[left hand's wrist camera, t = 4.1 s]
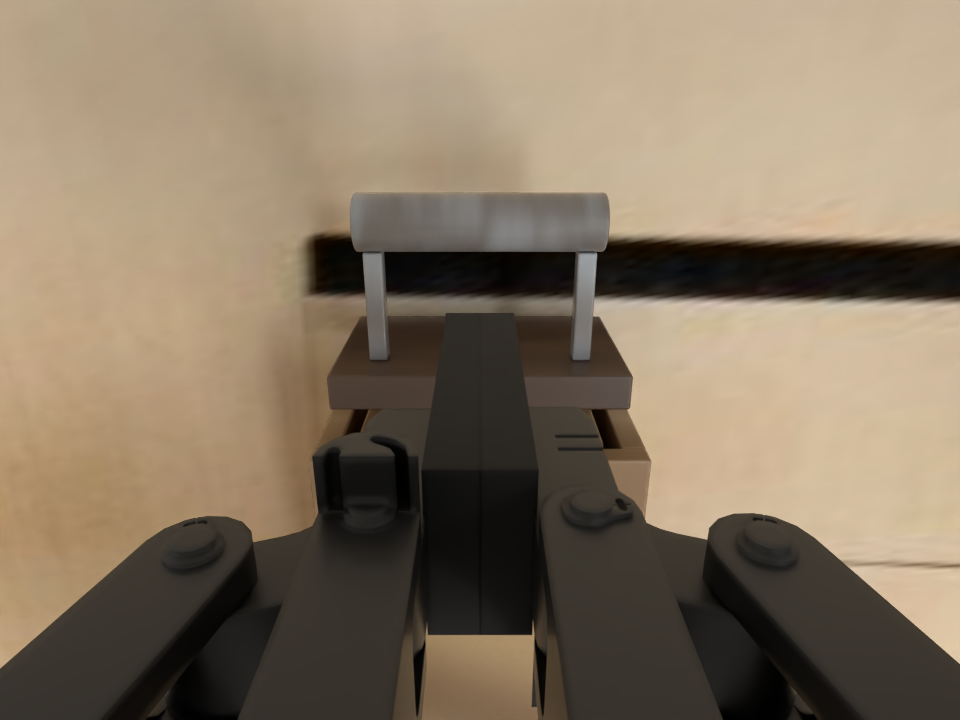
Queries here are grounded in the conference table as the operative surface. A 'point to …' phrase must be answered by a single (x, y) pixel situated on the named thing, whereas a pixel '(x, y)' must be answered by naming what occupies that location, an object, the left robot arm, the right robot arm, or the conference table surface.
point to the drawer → (417, 340)
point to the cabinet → (501, 658)
